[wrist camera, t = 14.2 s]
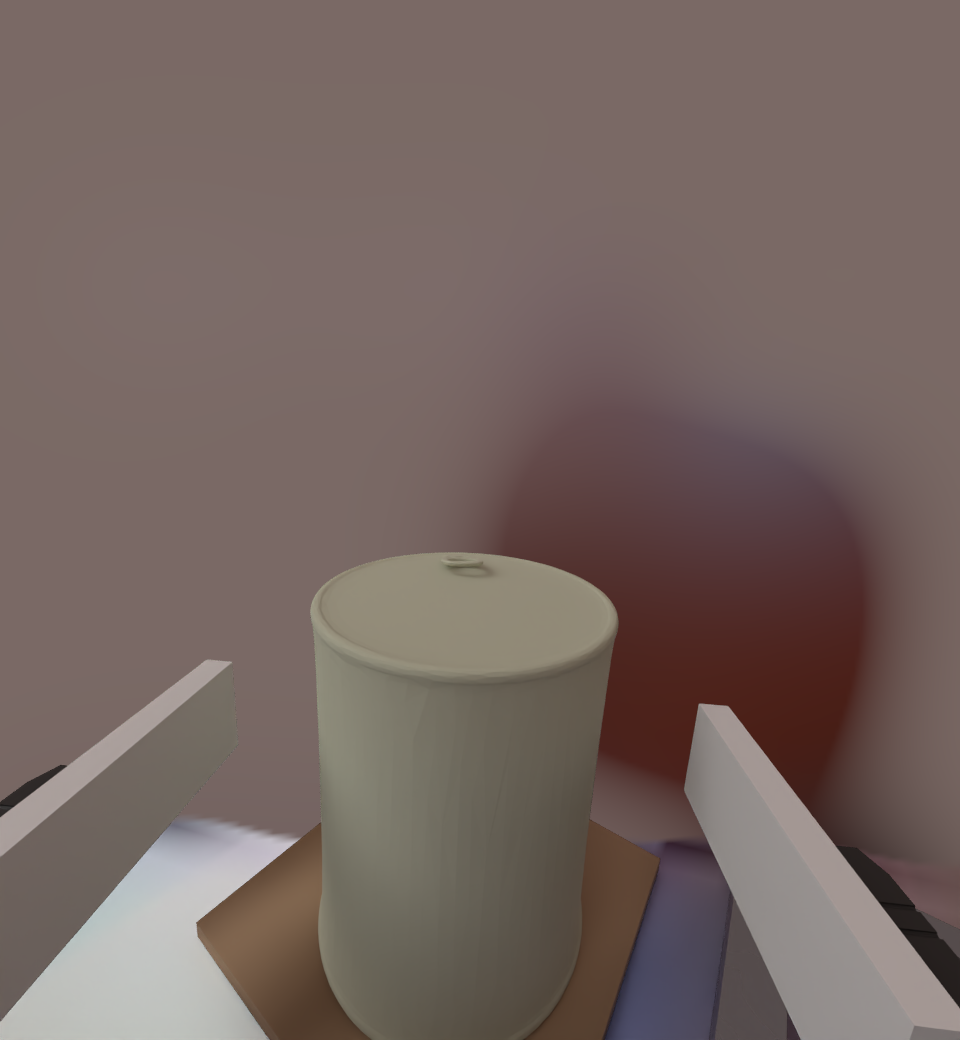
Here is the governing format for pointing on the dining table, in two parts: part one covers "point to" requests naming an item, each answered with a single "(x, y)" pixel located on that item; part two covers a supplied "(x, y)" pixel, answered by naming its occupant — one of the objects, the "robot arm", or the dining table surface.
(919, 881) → the dining table surface
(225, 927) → the pad
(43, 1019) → the dining table surface
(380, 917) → the can
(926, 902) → the dining table surface
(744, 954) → the collar
